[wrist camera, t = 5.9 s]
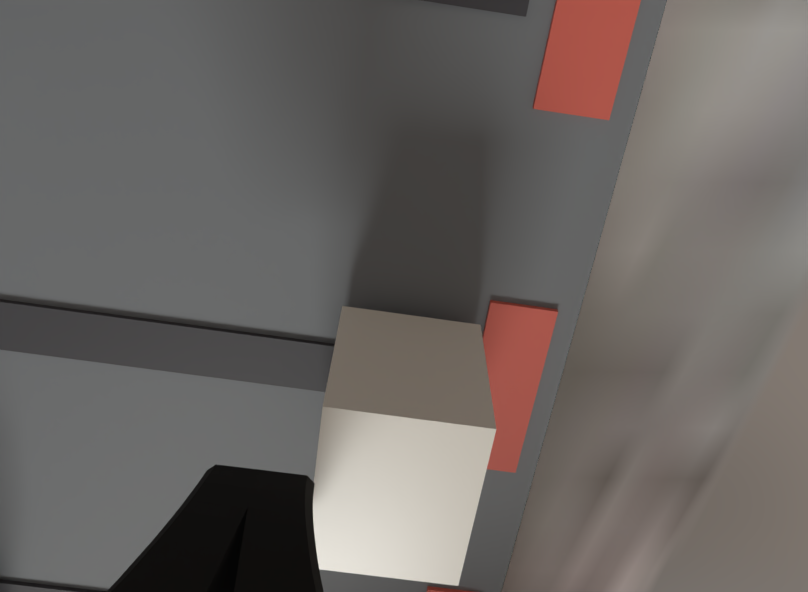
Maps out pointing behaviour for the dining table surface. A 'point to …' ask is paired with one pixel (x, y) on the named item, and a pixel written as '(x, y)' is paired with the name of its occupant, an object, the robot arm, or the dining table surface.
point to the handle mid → (402, 446)
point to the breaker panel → (281, 240)
